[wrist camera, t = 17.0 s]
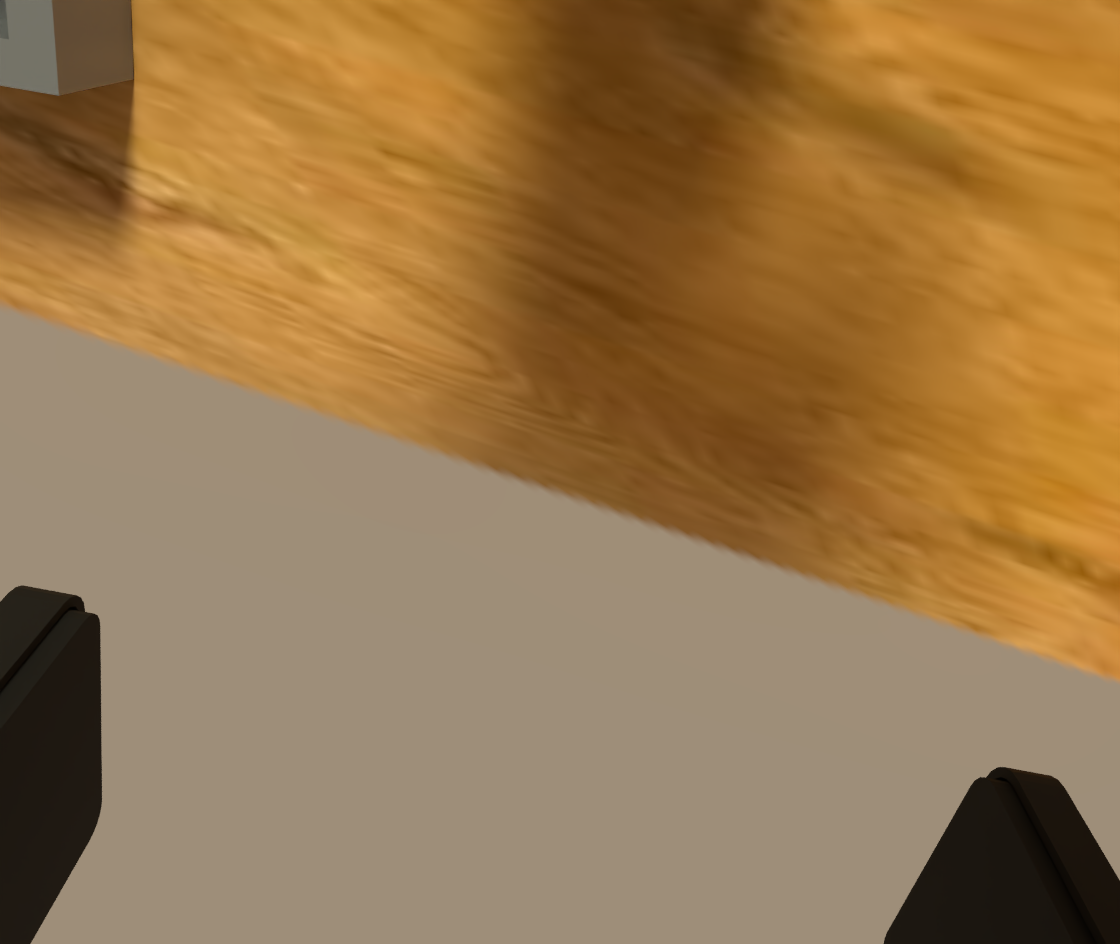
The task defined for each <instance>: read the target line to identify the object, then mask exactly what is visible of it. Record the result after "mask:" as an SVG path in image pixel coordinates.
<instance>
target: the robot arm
mask: <svg viewBox="0 0 1120 944" xmlns="http://www.w3.org/2000/svg"><path fill="white" fill-rule="evenodd" d="M100 665H101V662H100V621H99V618H98V616H97V615H95V614H93V613H87V612H85V608H84V603H83V601H82V599H81V598H80V597H78V596H76V595H71V594H66V593H60V592H55V591H49V590H43V589H38V588H33V587H28V586H18V587H16V588H14V589H13V590H12V591H10V592H9V593H8V594H7V595H6V596H5V597H4V598H3V600H2V601H1V602H0V944H30V943H31V942H32V940H33V938H34V936H35V934H36V933H37V931H38V929H39V928H40V926H41V924H42V923H43V921H44V919H45V917H46V915H47V914H48V912H49V910H50V908H51V907H52V905H53V903H54V902H55V900H56V898H57V896H58V895H59V893H60V891H61V889H62V888H63V886H64V884H65V882H66V881H67V879H68V877H69V875H70V874H71V871H72V870H73V868H74V867H75V865H76V863H77V861H78V860H79V858H80V856H81V854H82V853H83V851H84V849H85V847H86V846H87V844H88V842H89V840H90V838H91V836H92V834H93V832H94V830H95V827H96V824H97V822H98V818H99V815H100V810H101V804H102V773H101V772H102V765H101V763H102V762H101V666H100ZM884 944H1120V880H1119V879H1118V877H1117V875H1116V874H1115V872H1114V870H1113V869H1112V867H1111V865H1110V864H1109V862H1108V860H1107V859H1106V857H1105V855H1104V853H1103V852H1102V850H1101V848H1100V847H1099V845H1098V843H1097V842H1096V840H1095V838H1094V837H1093V835H1092V833H1091V831H1090V830H1089V828H1088V826H1087V825H1086V823H1085V821H1084V820H1083V818H1082V816H1081V815H1080V813H1079V811H1078V810H1077V808H1076V806H1075V805H1074V803H1073V801H1072V800H1071V798H1070V796H1069V794H1068V793H1067V791H1066V790H1065V788H1064V786H1063V785H1062V784H1061V783H1060V782H1059V780H1057V779H1056V778H1054V777H1052V776H1049V775H1043V774H1038V773H1033V772H1027V771H1021V770H1016V769H1011V768H1006V767H998V768H996V769H994V770H993V771H991V772H990V773H989V775H988V776H987V777H986V778H981V777H980V778H978V779H977V780H975V781H974V782H973V784H972V785H971V787H970V788H969V790H968V792H967V794H966V795H965V797H964V799H963V801H962V803H961V804H960V806H959V808H958V809H957V811H956V813H955V815H954V816H953V818H952V820H951V822H950V823H949V825H948V827H947V829H946V830H945V832H944V834H943V836H942V837H941V839H940V841H939V843H938V844H937V846H936V848H935V850H934V851H933V853H932V855H931V857H930V858H929V860H928V862H927V864H926V865H925V867H924V869H923V871H922V872H921V874H920V876H919V878H918V879H917V881H916V883H915V885H914V886H913V888H912V890H911V892H910V893H909V895H908V897H907V899H906V900H905V902H904V904H903V906H902V907H901V909H900V911H899V913H898V915H897V916H896V918H895V920H894V921H893V923H892V925H891V927H890V928H889V930H888V932H887V934H886V937H885V940H884Z"/></svg>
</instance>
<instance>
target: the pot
mask: <svg viewBox="0 0 1120 944" xmlns="http://www.w3.org/2000/svg"><path fill="white" fill-rule="evenodd" d="M133 79H134V71H133V46H132V21H131V0H0V86H5V87H11V88H17V89H23V90H29V91H34V92H40V93H46V94H52V95H58V96H60V95H65V94H69V93H74V92H78V91H83V90H87V89H92V88H96V87H101V86H105V85H110V84H115V83H119V82H124V81H128V80H133Z"/></svg>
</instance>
